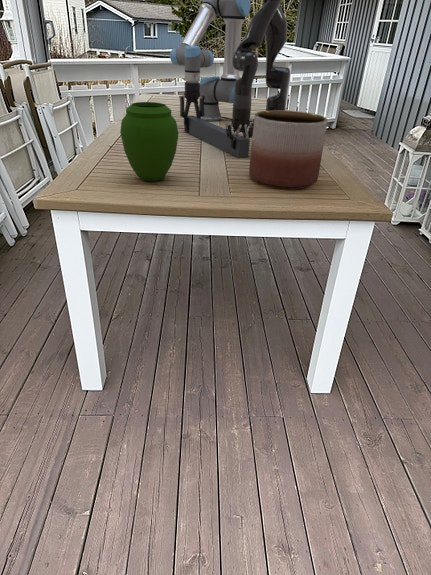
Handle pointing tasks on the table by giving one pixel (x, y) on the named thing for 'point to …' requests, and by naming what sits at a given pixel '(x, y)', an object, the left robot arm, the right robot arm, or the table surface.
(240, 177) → the table surface
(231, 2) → the left robot arm
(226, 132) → the right robot arm
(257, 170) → the planter
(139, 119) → the vase
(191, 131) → the beam
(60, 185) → the table surface
